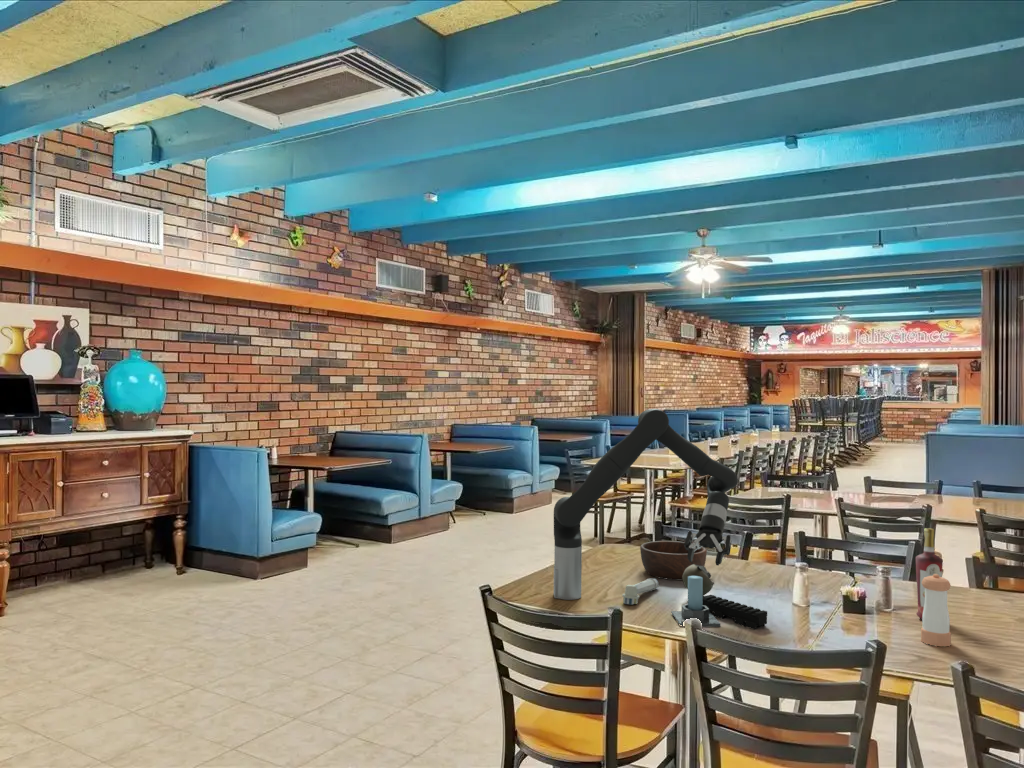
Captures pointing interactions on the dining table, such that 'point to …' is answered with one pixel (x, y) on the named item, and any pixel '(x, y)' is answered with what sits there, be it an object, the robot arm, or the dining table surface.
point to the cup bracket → (696, 616)
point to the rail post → (695, 593)
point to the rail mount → (735, 611)
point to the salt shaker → (936, 612)
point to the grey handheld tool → (638, 590)
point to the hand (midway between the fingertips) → (703, 562)
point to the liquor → (926, 567)
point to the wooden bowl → (669, 558)
